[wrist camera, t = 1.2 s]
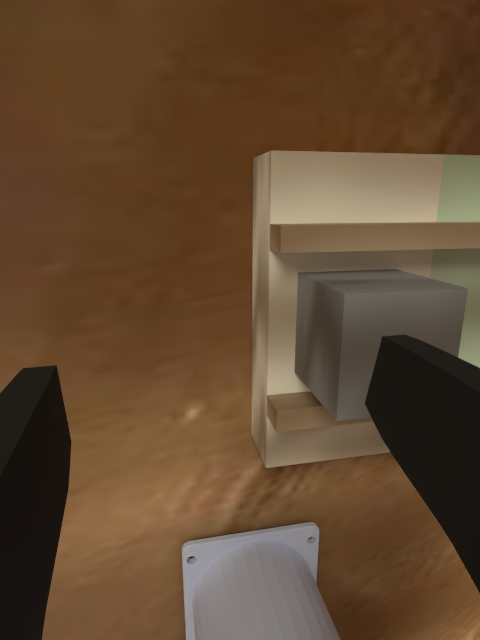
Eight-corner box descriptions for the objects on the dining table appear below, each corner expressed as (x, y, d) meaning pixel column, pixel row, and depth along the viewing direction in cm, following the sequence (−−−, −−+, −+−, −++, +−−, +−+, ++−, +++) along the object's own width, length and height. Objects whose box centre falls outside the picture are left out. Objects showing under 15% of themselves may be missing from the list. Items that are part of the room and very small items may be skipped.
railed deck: (586, 398, 27) (667, 434, 23) (251, 435, 23) (274, 488, 19) (641, 165, 23) (750, 157, 19) (253, 158, 19) (283, 145, 15)
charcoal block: (386, 364, 20) (450, 408, 16) (294, 372, 19) (336, 420, 15) (395, 269, 19) (468, 288, 14) (298, 272, 18) (344, 293, 14)
